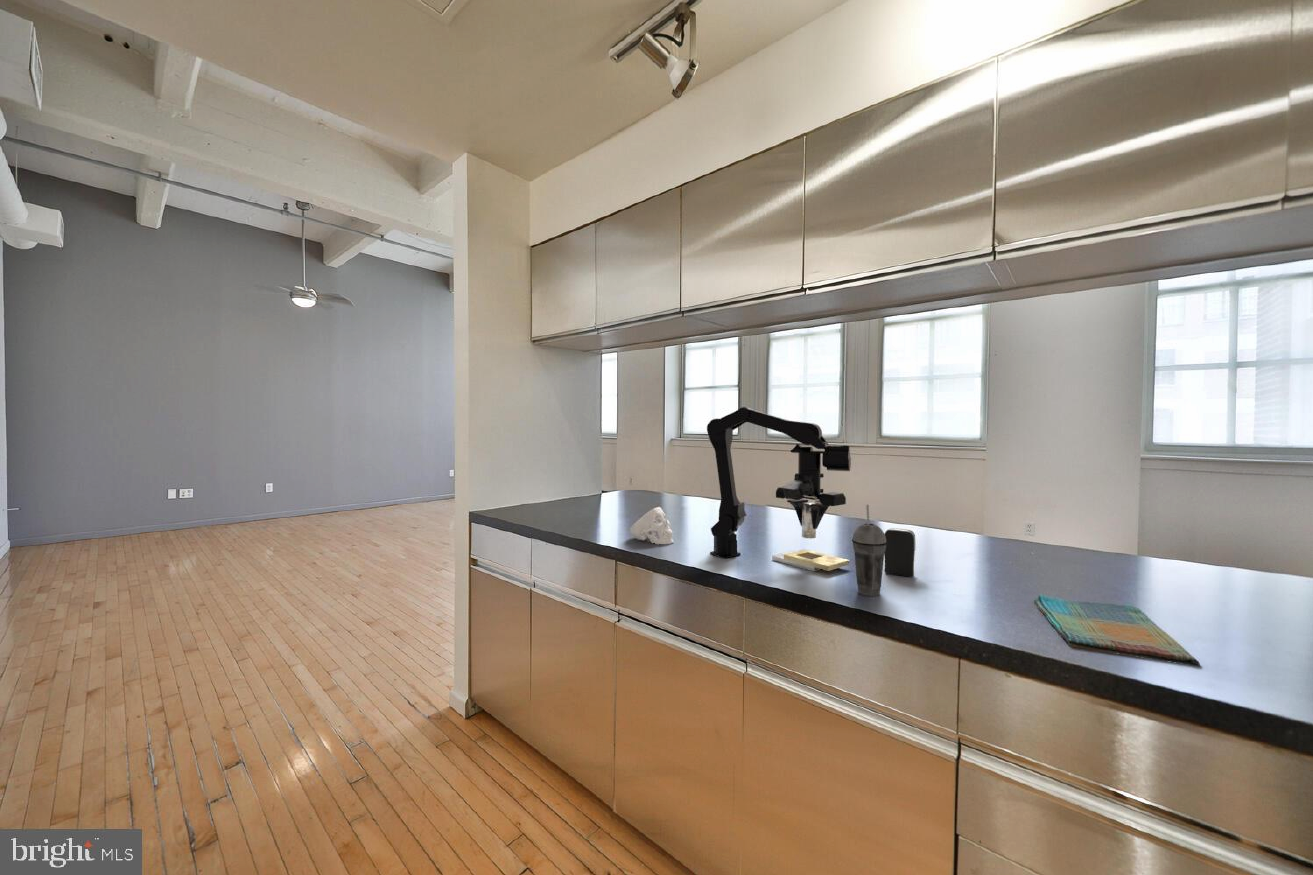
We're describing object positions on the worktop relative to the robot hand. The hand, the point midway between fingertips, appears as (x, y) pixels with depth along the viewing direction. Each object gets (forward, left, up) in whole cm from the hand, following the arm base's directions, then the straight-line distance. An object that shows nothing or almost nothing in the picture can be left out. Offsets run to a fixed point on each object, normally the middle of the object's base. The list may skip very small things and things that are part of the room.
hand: (808, 527), depth 135 cm
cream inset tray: (0, 0, -10) cm, 10 cm away
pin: (0, 0, -3) cm, 2 cm away
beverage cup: (+22, -8, -10) cm, 26 cm away
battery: (+19, +11, -10) cm, 24 cm away
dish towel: (+59, +8, -11) cm, 61 cm away
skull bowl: (-48, -18, -10) cm, 52 cm away
